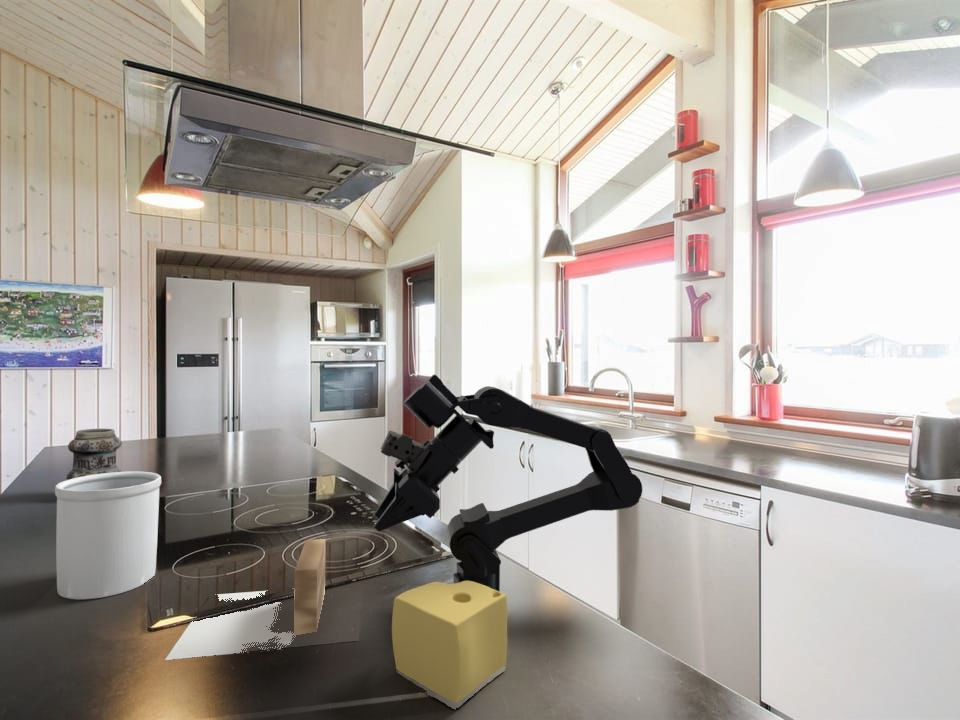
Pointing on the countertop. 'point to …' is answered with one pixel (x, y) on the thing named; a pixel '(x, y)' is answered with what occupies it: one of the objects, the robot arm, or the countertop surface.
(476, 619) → the cheese
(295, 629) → the oak board
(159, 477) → the utensil holder
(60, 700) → the countertop surface
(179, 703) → the countertop surface
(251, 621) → the mat
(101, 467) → the apothecary jar
